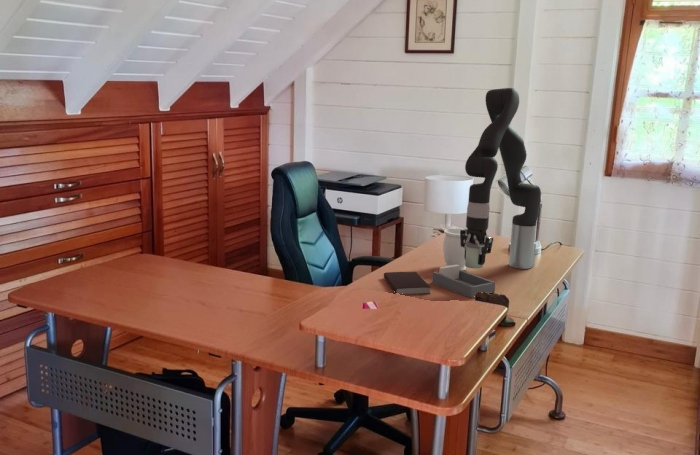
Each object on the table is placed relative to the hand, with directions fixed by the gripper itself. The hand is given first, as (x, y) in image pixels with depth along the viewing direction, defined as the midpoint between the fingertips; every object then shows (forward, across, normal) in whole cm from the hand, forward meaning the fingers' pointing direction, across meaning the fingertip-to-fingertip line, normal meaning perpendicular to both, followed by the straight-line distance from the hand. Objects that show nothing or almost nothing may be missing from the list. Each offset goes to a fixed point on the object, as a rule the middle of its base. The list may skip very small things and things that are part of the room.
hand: (474, 262), depth 235 cm
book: (+12, -17, -16) cm, 26 cm away
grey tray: (+11, -5, 0) cm, 12 cm away
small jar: (+1, 0, 0) cm, 1 cm away
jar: (+11, -25, +15) cm, 31 cm away
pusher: (+10, -12, 0) cm, 16 cm away
